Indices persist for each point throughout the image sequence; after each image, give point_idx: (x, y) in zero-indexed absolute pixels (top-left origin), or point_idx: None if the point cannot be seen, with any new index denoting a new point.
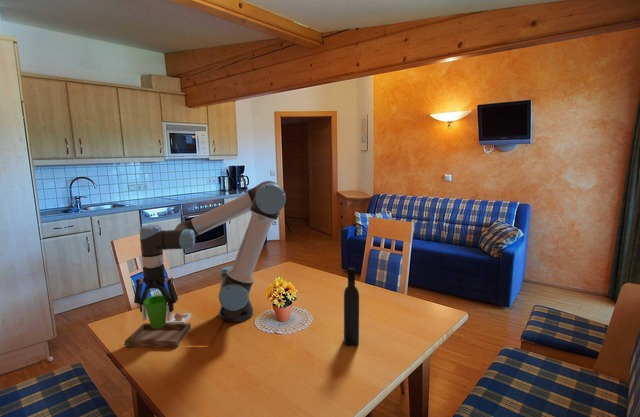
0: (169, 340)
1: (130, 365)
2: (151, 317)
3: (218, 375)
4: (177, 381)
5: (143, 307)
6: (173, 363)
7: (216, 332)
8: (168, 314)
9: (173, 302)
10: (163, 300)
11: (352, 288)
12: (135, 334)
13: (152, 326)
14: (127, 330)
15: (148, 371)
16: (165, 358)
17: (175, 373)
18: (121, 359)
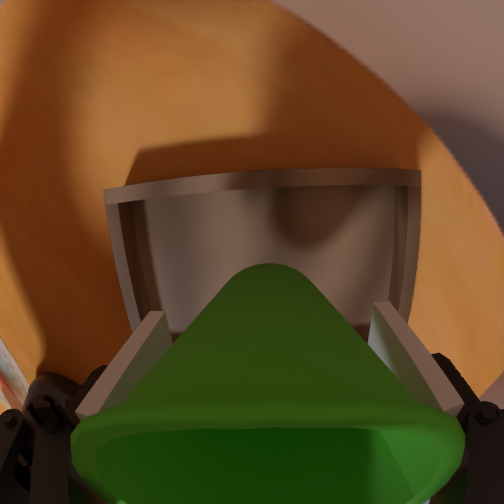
0: (141, 188)
1: (274, 23)
2: (288, 289)
3: None
4: (57, 16)
5: (431, 387)
6: (89, 75)
7: (54, 318)
8: (128, 342)
9: (12, 415)
10: (237, 501)
11: None
12: (402, 257)
13: (291, 268)
14: (449, 322)
15: (165, 8)
16: (133, 93)
17: (68, 36)
18: (353, 65)
